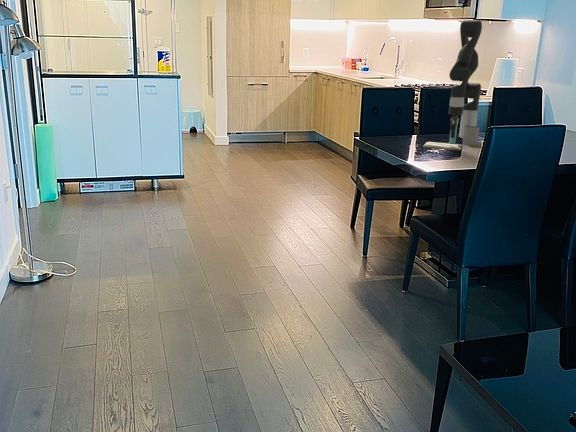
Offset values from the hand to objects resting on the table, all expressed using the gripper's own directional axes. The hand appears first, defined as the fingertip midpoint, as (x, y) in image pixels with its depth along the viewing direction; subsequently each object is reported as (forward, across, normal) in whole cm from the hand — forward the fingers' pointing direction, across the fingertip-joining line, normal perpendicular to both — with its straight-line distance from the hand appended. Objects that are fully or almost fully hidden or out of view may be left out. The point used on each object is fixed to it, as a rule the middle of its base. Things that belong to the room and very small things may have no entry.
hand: (452, 137), depth 310 cm
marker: (+4, 0, 0) cm, 4 cm away
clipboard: (+6, -3, -5) cm, 9 cm away
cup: (+6, -21, +8) cm, 23 cm away
